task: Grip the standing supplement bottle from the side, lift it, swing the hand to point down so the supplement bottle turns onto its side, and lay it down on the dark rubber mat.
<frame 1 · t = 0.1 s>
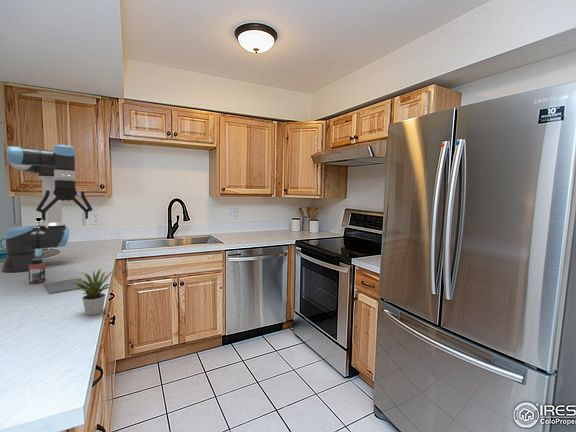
hand: (66, 226, 131), 28 cm above the countertop, tool pointing down, fingers open, 13 cm apart
supplement bottle: (37, 282, 137), on the countertop
house plant: (97, 311, 108), on the countertop
rubber mat: (66, 286, 134), on the countertop
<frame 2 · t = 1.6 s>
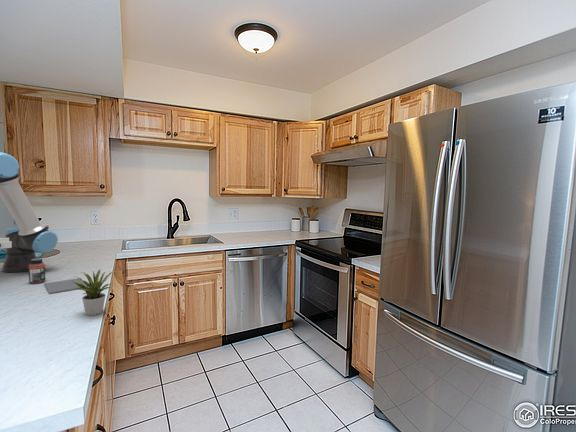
hand: (10, 242, 129), 20 cm above the countertop, tool horizontal, fingers open, 13 cm apart
nothing on the countertop moved.
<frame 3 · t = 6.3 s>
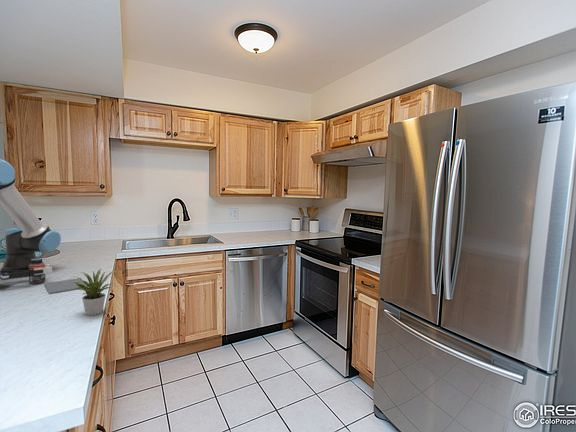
hand: (50, 268, 140), 6 cm above the countertop, tool horizontal, fingers closed on supplement bottle, 6 cm apart
supplement bottle: (37, 282, 137), on the countertop, touching gripper
everything else where it was.
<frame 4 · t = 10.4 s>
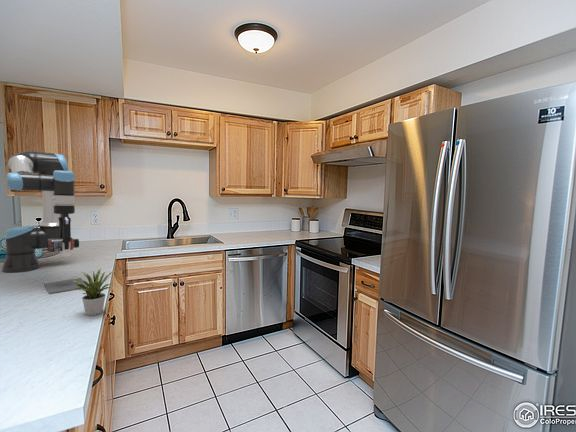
hand: (65, 254, 132), 15 cm above the countertop, tool pointing down, fingers closed on supplement bottle, 6 cm apart
supplement bottle: (46, 245, 127), point 20 cm above the countertop, touching gripper
everything else where it was.
when the fingers open (2 cm above the countertop, at t = 13.1 s): supplement bottle drops 3 cm, resting on rubber mat.
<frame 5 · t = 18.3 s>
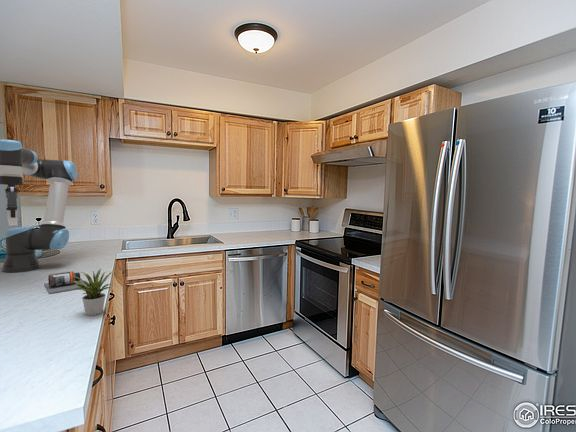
hand: (12, 223, 128), 29 cm above the countertop, tool pointing down, fingers open, 13 cm apart
supplement bottle: (48, 281, 129), point 4 cm above the countertop, touching rubber mat
everything else where it was.
at the end: supplement bottle tilted 91°; supplement bottle inside the target area on the rubber mat (6.3 cm from its centre), point 3.6 cm above the rubber mat's base; the gripper is holding nothing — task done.
